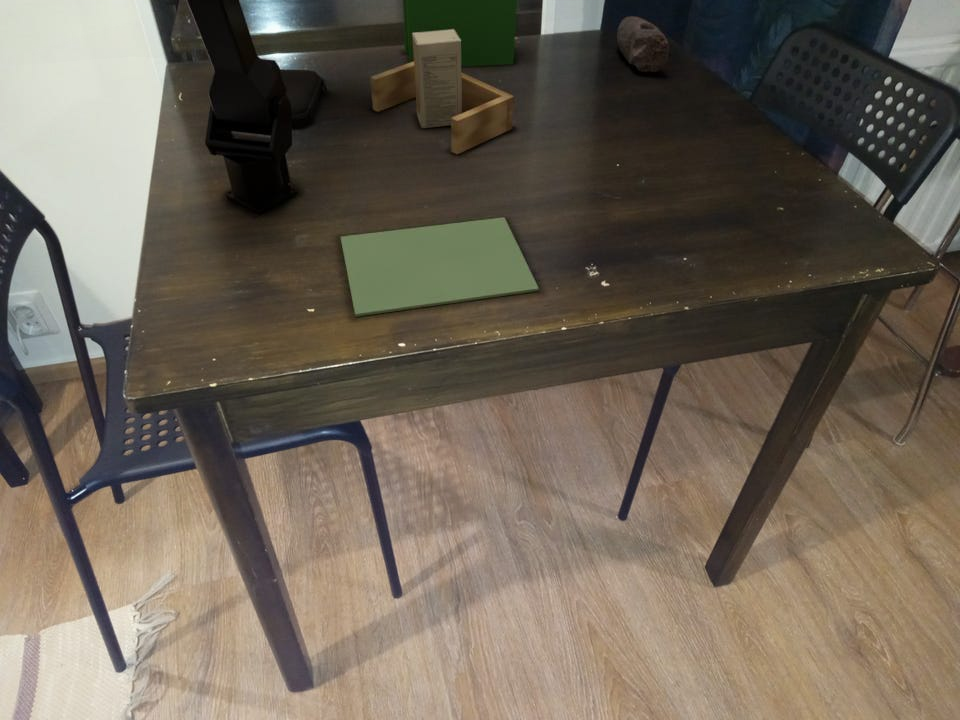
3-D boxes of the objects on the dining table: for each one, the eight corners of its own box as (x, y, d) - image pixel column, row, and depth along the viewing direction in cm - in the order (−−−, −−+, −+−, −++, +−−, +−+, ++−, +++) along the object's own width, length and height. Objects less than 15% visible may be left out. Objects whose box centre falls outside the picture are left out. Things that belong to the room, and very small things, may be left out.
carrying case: (317, 130, 100) (332, 85, 111) (314, 109, 98) (330, 66, 108) (242, 128, 100) (265, 84, 110) (238, 107, 98) (261, 64, 108)
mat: (355, 317, 72) (355, 314, 72) (340, 239, 82) (340, 236, 82) (538, 291, 76) (538, 288, 76) (504, 219, 86) (504, 217, 85)
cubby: (457, 154, 96) (457, 120, 93) (372, 109, 105) (370, 76, 102) (511, 129, 102) (514, 96, 99) (427, 88, 111) (426, 56, 107)
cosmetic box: (456, 112, 106) (456, 28, 97) (462, 125, 103) (463, 40, 94) (414, 115, 104) (411, 30, 96) (419, 129, 101) (416, 43, 93)
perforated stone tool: (605, 45, 126) (612, 4, 121) (633, 44, 126) (640, 3, 122) (636, 80, 115) (644, 37, 110) (665, 78, 116) (675, 35, 111)
